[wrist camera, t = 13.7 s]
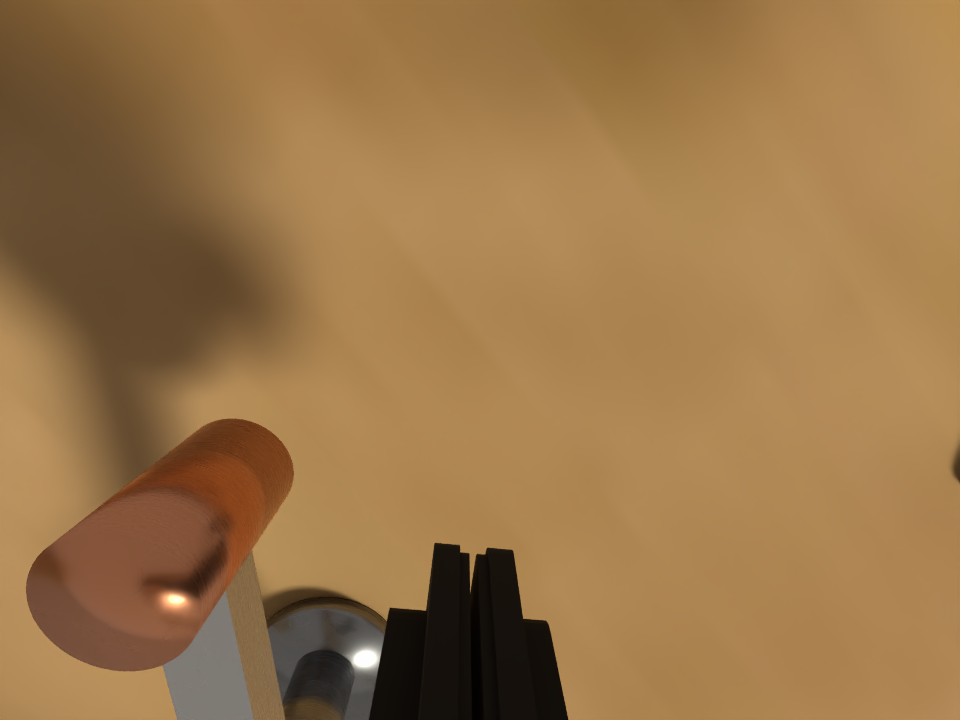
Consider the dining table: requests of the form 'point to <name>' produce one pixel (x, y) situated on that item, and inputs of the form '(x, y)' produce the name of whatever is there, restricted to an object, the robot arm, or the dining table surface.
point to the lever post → (326, 658)
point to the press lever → (176, 575)
